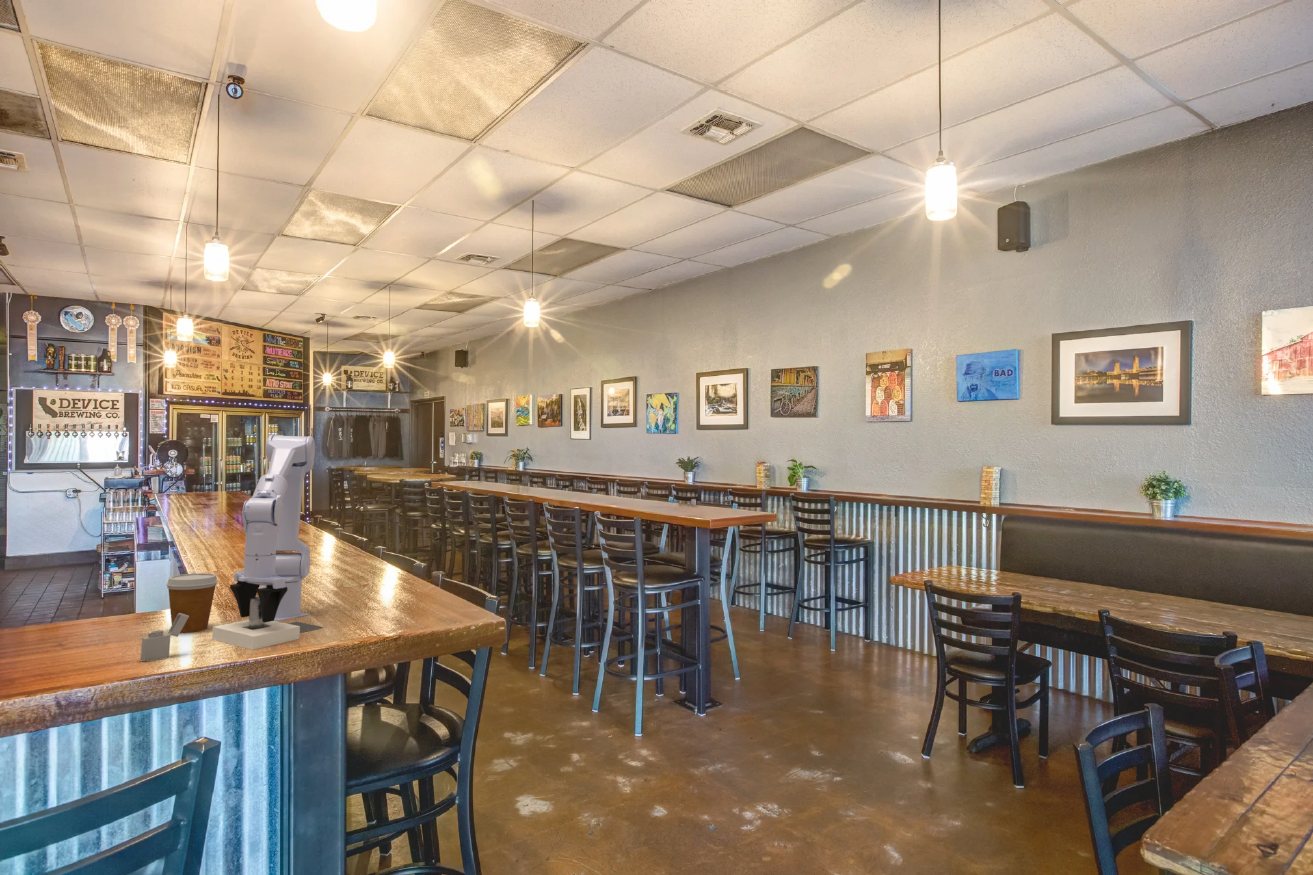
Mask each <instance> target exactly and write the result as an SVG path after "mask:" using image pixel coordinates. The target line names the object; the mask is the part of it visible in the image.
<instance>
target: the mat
mask: <svg viewBox="0 0 1313 875" xmlns="http://www.w3.org/2000/svg"><path fill="white" fill-rule="evenodd" d="M287 624H291V625H296V626H300V634H303V633H308V632H312V631H316V630H321V629H324V628H326V627H324V626H320V625H316V624H310V623H307V622H301V621H293V622H288V623H287Z"/></svg>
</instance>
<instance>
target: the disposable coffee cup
mask: <svg viewBox="0 0 1313 875" xmlns="http://www.w3.org/2000/svg"><path fill="white" fill-rule="evenodd" d="M218 583H219V580H218V579H217V575H216V574H214V573H208V572H207V573H206V572H204V573H203V572H201V573H199V572H197V573H195V572H194V573H184V574H176V575H171V576H169V577H168V580H167V582H166V583H165V586H166V587H167V589H168V599H169V609H170V619H171V620H170V621H171V625H172V624H173V622H174V621H175V619H176V617H177V615H178V614H179V613H182V614H186V615H188V616H189V617H188V619H187V621H186V623H185V625H184V626H183V628H182V630H181V632H180V633H179V634H191V633H197V632H201V631H205V630H208V626H209V621H210V617H211V616H210V615H211V610H212V605H213V600H214V595H215V590H216V586H217V585H218Z"/></svg>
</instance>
